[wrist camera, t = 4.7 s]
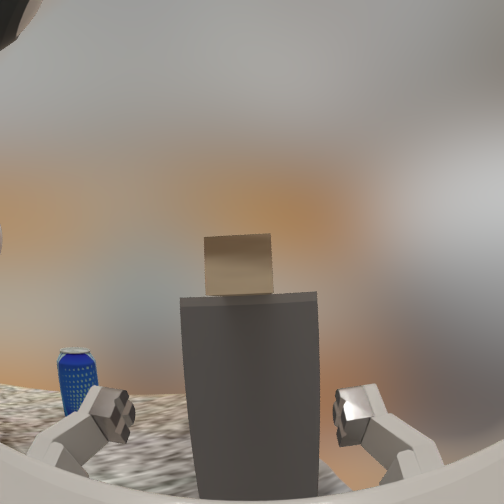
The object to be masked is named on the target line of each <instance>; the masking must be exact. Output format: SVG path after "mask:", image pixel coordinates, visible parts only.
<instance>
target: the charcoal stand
mask: <svg viewBox="0 0 504 504" xmlns="http://www.w3.org/2000/svg"><path fill="white" fill-rule="evenodd" d="M317 306H318V305H317V292H302V293H285V294H267V295H246V296H222V297H189V298H180V314H181V334H182V351H183V365H184V377H185V389H186V399H187V409H188V419H189V427H190V436H191V444H192V451H193V459H194V466H195V472H196V479H197V485H198V491H199V497H200V499H208V500H225V501H272V500H289V499H302V498H311V497H317V490H318V470H319V438H320V437H319V436H320V362H319V329H318V307H317Z"/></svg>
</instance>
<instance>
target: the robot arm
mask: <svg viewBox="0 0 504 504" xmlns="http://www.w3.org/2000/svg"><path fill="white" fill-rule="evenodd" d="M42 1H43V0H0V51H1V50H2V49H4V48H5V47H7V46H8V45H10V44H11V43H13V42H14V41H15V40H16V39H17V38H18V36H19V35H20V33H21V32H22V31H23V30H24V29H25V28H26V26H27V25H28V24H29V23H30V21H31V20H32V19H33V17H34V16H35V14H36V12H37V11H38V9H39V7H40V5H41V3H42ZM1 248H2V230H1V225H0V253H1ZM335 397H336V401H335V402H334V405H333V420H334V425H335V426H336V427H338V429H337V439H338V443H339V447H344V446H352V445H359V444H361V446H362V447H363V448H364V449H365V450H366V451H367V452H368V453H369V454H371V456H373V457H374V458H375V459H376V460H377V461H378V462H379V463H380V464H381V465H382V466H383V467H384V468H385V469H386V470H387V472H386V474H385V475H384V477H383V478H382V480H381V481H380V483H379V485H380V486H376V487H372V488H367V489H362V490H357V491H352V492H346V493H341V494H334V495H327V496H320V497H311V498H302V499H289V500H272V501H225V500H208V499H195V498H186V497H177V496H170V495H163V494H156V493H151V492H145V491H140V490H135V489H130V488H125V487H121V486H117V485H113V484H109V483H105V482H101V481H97V480H94V479H90V478H89V475H88V473H87V472H86V471H85V470H84V469H83V468H82V467H81V466H82V465H83V464H85V463H86V462H87V461H88V460H89V459H90V458H91V457H93V456H94V455H95V454H96V453H97V452H98V451H99V450H100V449H101V448H103V447H104V446H105V445H106V444H107V443H108V441H110V442H115V443H121V444H126V443H127V440H128V437H129V435H130V430H129V427H130V426H131V425H133V423H134V420H135V408H134V405H133V403H132V402H130V401H129V400H128V398H129V395H128V393H127V391H126V390H121V389H114V388H108V387H101V386H95V385H93V386H92V387H91V388H90V390H89V391H88V393H87V395H86V397H85V399H84V401H83V403H82V404H81V406H80V408H79V410H78V412H76V411H75V412H73V413H71V414H70V415H68V416H67V417H65V418H63V419H62V420H60V421H59V422H57V423H55V424H54V425H52V426H50V427H49V428H47V429H45V430H44V431H42V432H41V433H39V434H37V436H36V437H35V439H34V441H33V443H32V445H31V447H30V448H29V450H28V452H27V454H26V455H25V454H23V453H21V452H19V451H17V450H14V449H12V448H10V447H8V446H6V445H4V444H2V443H0V504H504V439H503V440H501V441H499V442H497V443H495V444H493V445H491V446H489V447H487V448H485V449H483V450H481V451H479V452H476V453H475V454H472V455H470V456H468V457H465V458H463V459H460V460H458V461H456V462H453V463H450V464H448V465H446V466H444V463H443V461H442V459H441V456H440V454H439V451H438V449H437V447H436V445H435V442H434V441H433V440H431V439H430V438H428V437H427V436H425V435H423V434H422V433H420V432H419V431H417V430H416V429H414V428H413V427H411V426H410V425H408V424H407V423H405V422H404V421H402V420H401V419H399V418H398V417H396V416H395V415H393V414H391V413H390V414H388V413H387V410H386V408H385V405H384V403H383V400H382V398H381V395H380V393H379V390H378V388H377V385H376V384H369V385H363V386H356V387H349V388H341V389H337V390H336V394H335Z"/></svg>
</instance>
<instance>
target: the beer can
mask: <svg viewBox="0 0 504 504" xmlns="http://www.w3.org/2000/svg"><path fill="white" fill-rule="evenodd" d="M57 368H58V376H59V383H60V390H61V396H62V402H63V407H64V412H65V417H67V416H68V415H70V414H71V413H73V412H75V411H76V412H78V410H79V408H80V406H81V404H82V403H83V401H84V399H85V397H86V395H87V393H88V391H89V390H90V388H91V387H92V386H93V385H95V386H98V378H97V369H96V362H95V359H94V357H93V356H92V355H91V353H90V349H87V348H78V347H71V348H63V349H60V354H59V357H58V359H57Z"/></svg>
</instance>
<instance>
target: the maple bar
mask: <svg viewBox="0 0 504 504" xmlns="http://www.w3.org/2000/svg"><path fill="white" fill-rule="evenodd" d="M204 253H205V254H204V255H205V288H206V295H209V296H246V295H267V294H272V293H273V292H274V290H273V271H272V253H271V235H270V234H250V235H232V236H216V237H204Z"/></svg>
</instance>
